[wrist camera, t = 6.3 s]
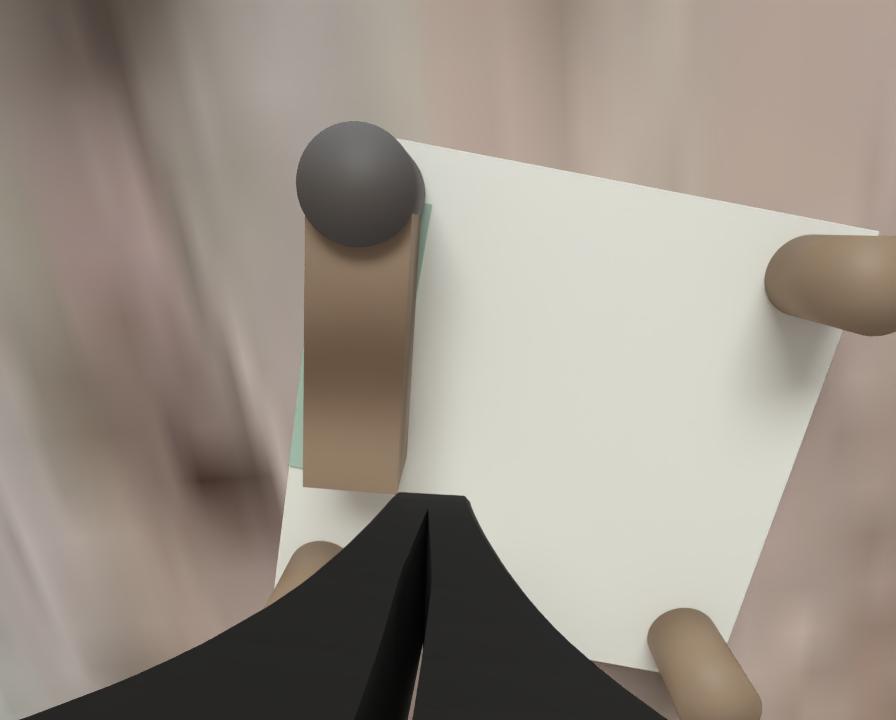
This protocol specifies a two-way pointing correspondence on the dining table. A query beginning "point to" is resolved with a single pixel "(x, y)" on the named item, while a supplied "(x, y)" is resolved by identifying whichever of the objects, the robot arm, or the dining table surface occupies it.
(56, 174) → the dining table surface
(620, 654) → the stool seat
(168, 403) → the dining table surface
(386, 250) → the hammer
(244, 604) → the dining table surface
